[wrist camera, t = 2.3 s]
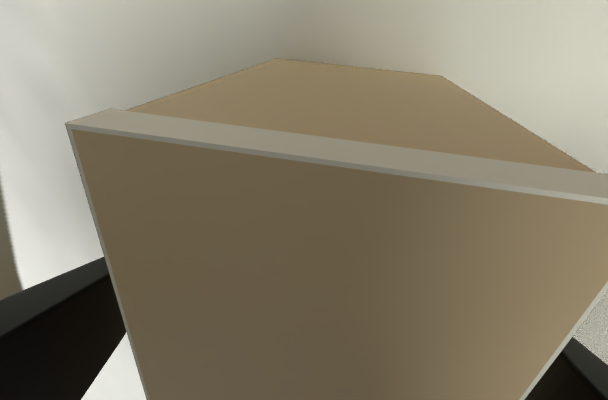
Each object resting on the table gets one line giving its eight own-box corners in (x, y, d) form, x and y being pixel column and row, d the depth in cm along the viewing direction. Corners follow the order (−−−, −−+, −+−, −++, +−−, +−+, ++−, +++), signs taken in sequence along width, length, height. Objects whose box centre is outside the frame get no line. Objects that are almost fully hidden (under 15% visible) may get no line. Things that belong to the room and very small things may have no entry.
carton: (443, 73, 9) (671, 206, 2) (381, 295, 14) (398, 565, 7) (275, 56, 10) (64, 123, 3) (268, 274, 14) (178, 505, 7)
